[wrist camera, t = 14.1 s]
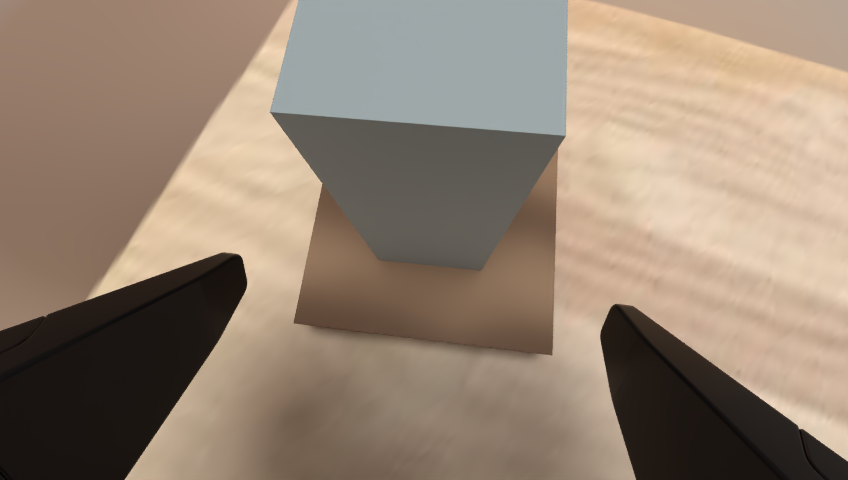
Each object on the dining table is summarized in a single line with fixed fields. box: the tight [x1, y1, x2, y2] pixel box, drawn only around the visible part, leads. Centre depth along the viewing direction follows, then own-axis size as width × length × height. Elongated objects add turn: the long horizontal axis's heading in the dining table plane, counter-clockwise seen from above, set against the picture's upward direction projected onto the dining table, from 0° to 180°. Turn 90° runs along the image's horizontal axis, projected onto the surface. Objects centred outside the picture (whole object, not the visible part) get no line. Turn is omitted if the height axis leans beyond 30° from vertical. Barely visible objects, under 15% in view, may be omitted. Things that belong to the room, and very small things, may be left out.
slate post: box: [270, 0, 568, 271], centre depth 13 cm, size 5×5×12 cm
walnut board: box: [294, 149, 558, 355], centre depth 20 cm, size 12×12×2 cm
